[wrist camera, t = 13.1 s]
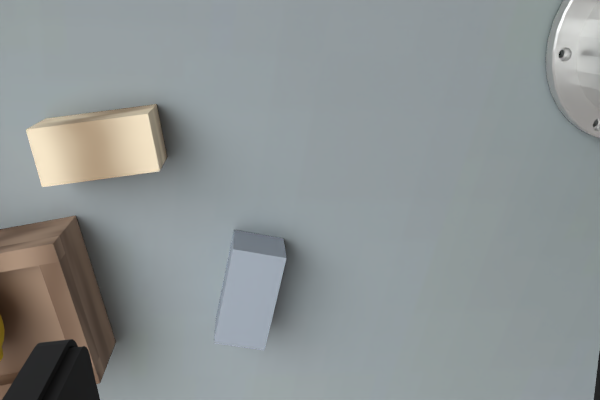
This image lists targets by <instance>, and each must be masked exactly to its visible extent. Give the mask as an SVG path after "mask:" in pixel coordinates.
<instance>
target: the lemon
mask: <svg viewBox="0 0 600 400" xmlns="http://www.w3.org/2000/svg"><path fill="white" fill-rule="evenodd" d="M4 331H5V330H4V324H3V320H2V317H1V315H0V361H1V360H2V358H3V350H2V345H3V341H4Z"/></svg>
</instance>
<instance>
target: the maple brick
mask: <svg viewBox="0 0 600 400" xmlns="http://www.w3.org/2000/svg"><path fill="white" fill-rule="evenodd" d="M26 132H27V135H28V139H29V142H30V146H31V149H32V153H33V157H34V160H35V164H36V167H37V171H38V174H39V178H40V181H41V185H42V187H47V186H54V185H62V184H69V183H76V182H84V181H91V180H99V179H106V178H113V177H121V176H128V175H136V174H143V173H150V172H158V171H160V170H161V168H162V166H163V164H164V162H165V160H166V159H167V154H166V149H165V144H164V139H163V134H162V129H161V124H160V119H159V114H158V109H157V104H154V105H146V106H139V107H131V108H123V109H116V110H108V111H100V112H93V113H85V114H77V115H70V116H62V117H54V118H47V119H44V120H42V121H40V122H38V123H37V124H35V125H33V126H31V127H30V128H28V129H26Z"/></svg>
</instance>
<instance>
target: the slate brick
mask: <svg viewBox="0 0 600 400" xmlns="http://www.w3.org/2000/svg"><path fill="white" fill-rule="evenodd" d="M286 259H287V258H286V251H285V245H284V239H283V238H278V237H272V236H267V235H261V234H255V233H250V232H244V231H238V230H234V232H233V237H232V242H231V247H230V252H229V257H228V262H227V267H226V272H225V276H224V281H223V286H222V291H221V296H220V301H219V306H218V311H217V316H216V324H215V334H214V343H216V344H223V345H230V346H237V347H244V348H251V349H258V350H265V347H266V343H267V338H268V334H269V330H270V326H271V322H272V317H273V313H274V309H275V305H276V301H277V296H278V292H279V288H280V284H281V280H282V275H283V271H284V267H285V263H286Z"/></svg>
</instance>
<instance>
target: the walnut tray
mask: <svg viewBox="0 0 600 400" xmlns="http://www.w3.org/2000/svg"><path fill="white" fill-rule="evenodd" d="M0 315H1V317H2V320H3V324H4V330H5V331H4V341H3V345H2V350H3V358H2V360H1V361H0V400H2V399H3V397H4V396H5V394H6V392H7V391H8V389H9V388H10V386H11V384H12V383H13V381H14V380H15V378H16V376H17V375H18V373H19V371H20V370H21V368H22V367H23V365H24V363H25V362H26V360H27V359H28V357H29V355H30V354H31V352H32V350H33V349H34V347H35V346H36V345H37V344H38V343H41V342H51V341H60V340H69V339H73V340H75V342H76V343H77V345H78V347H82V346H85V347H87V349H88V351H89V354H90V358H91V363H92V367H93V372H94V376H95V380H96V384H98V383H100V382H101V379H102V377H103V374H104V372H105V369H106V366H107V364H108V361H109V359H110V356H111V354H112V351H113V348H114V346H115V343H116V341H115V338H114V335H113V332H112V328H111V325H110V322H109V319H108V316H107V313H106V309H105V306H104V303H103V300H102V297H101V294H100V291H99V287H98V284H97V281H96V278H95V275H94V272H93V268H92V265H91V262H90V259H89V256H88V253H87V250H86V246H85V243H84V240H83V237H82V234H81V231H80V227H79V224H78V221H77V218H76V216H71V217H66V218H60V219H55V220H49V221H44V222H38V223H33V224H27V225H22V226H16V227H11V228H5V229H0Z"/></svg>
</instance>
